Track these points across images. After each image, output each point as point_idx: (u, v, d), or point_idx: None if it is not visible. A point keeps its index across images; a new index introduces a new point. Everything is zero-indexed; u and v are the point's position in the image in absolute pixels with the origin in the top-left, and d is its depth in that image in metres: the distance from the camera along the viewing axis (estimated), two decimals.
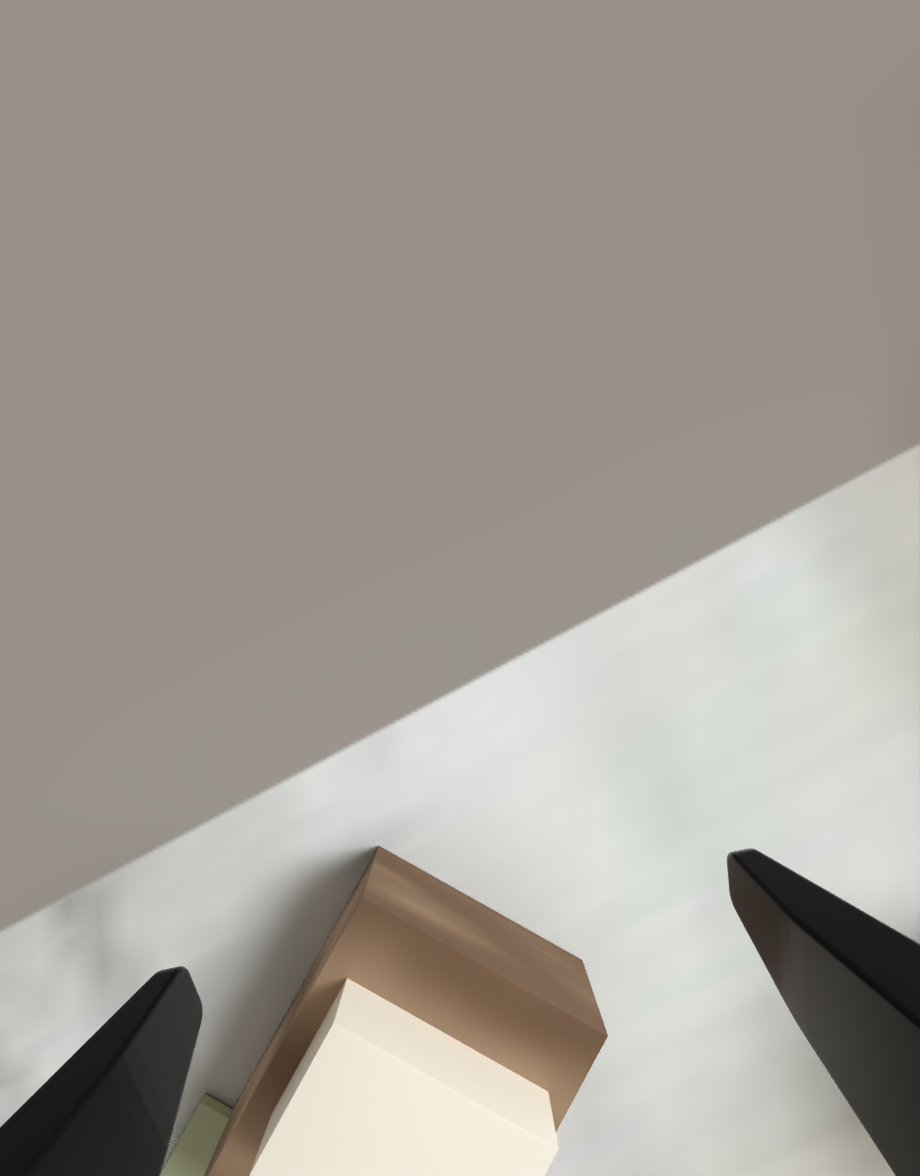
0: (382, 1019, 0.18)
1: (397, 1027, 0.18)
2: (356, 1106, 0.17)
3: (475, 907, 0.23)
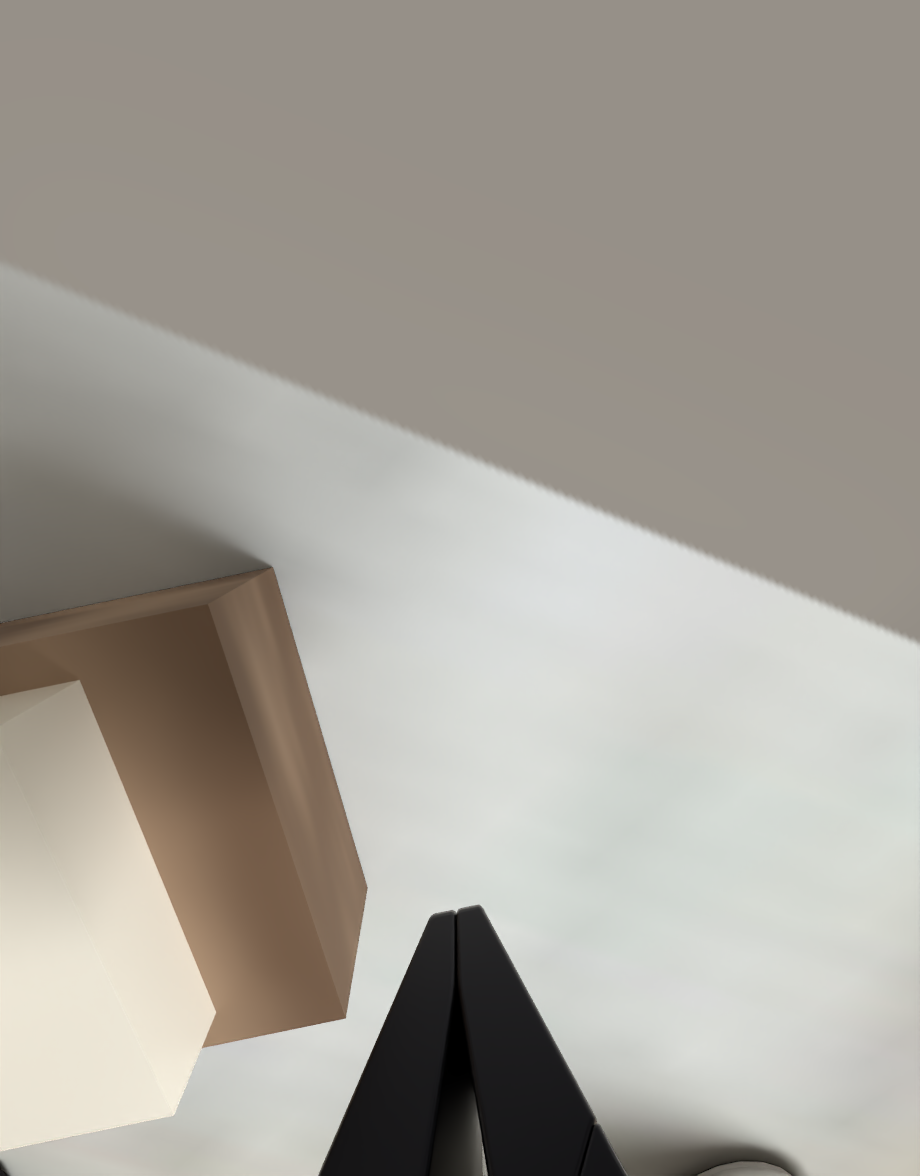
0: (80, 780, 0.10)
1: (94, 807, 0.10)
2: None
3: (317, 742, 0.14)
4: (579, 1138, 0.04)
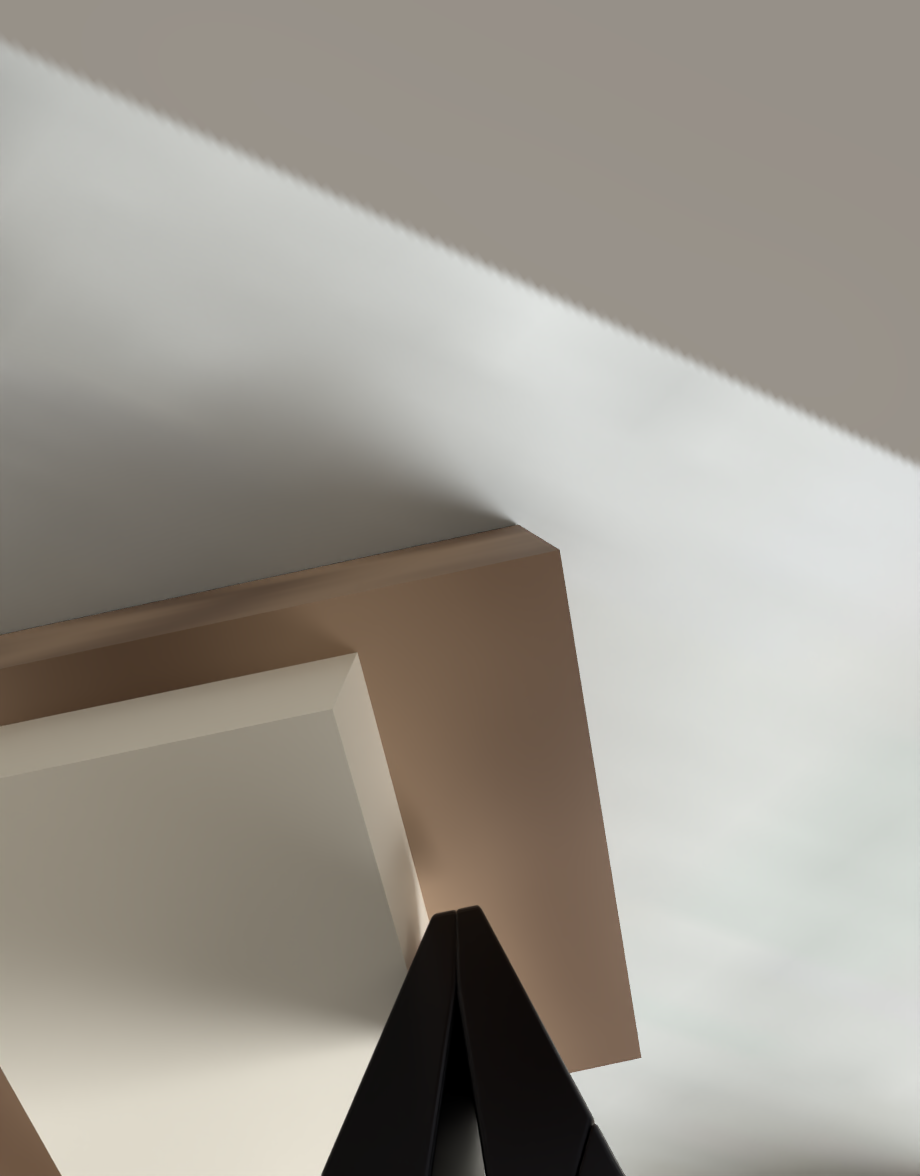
0: (377, 777, 0.08)
1: (386, 812, 0.08)
2: (217, 883, 0.07)
3: None
4: (577, 1138, 0.04)
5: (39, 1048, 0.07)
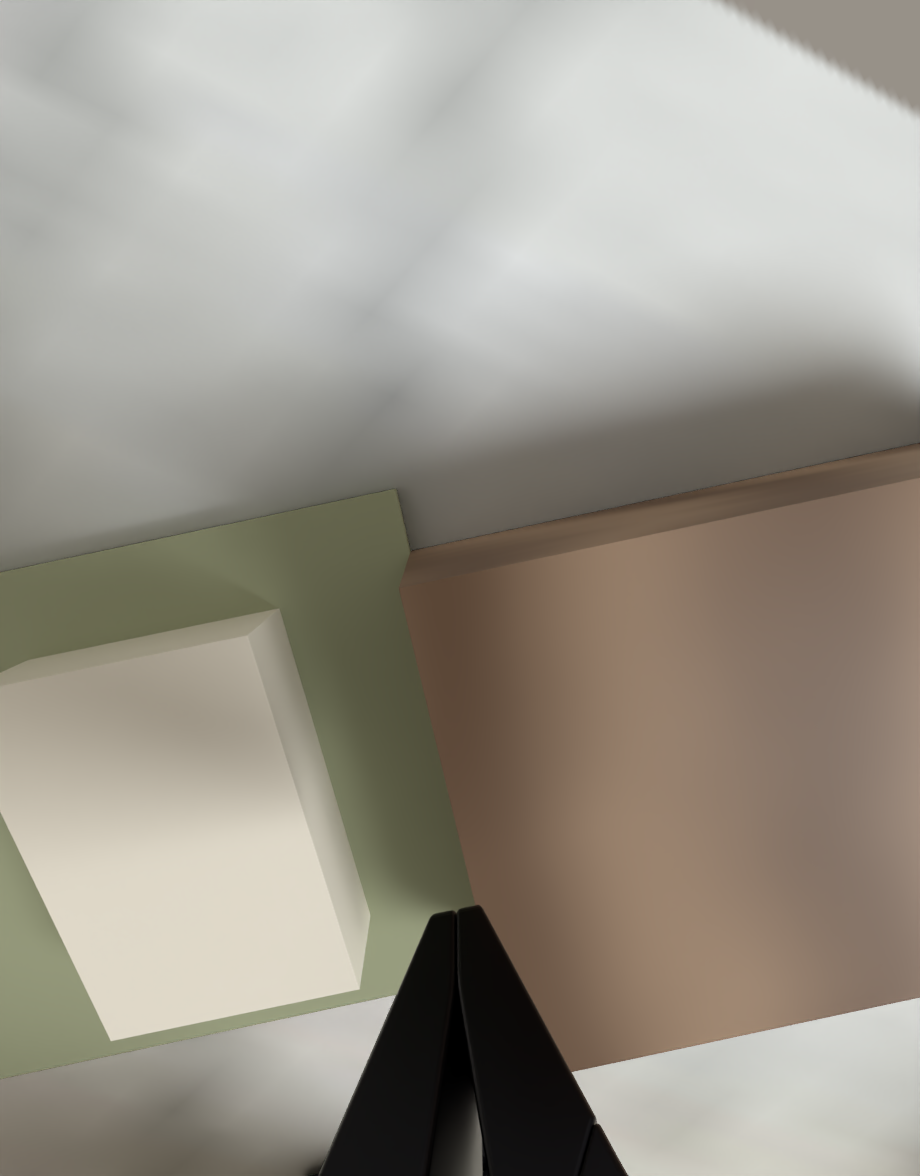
0: None
1: None
2: None
3: None
4: (579, 1138, 0.04)
5: None
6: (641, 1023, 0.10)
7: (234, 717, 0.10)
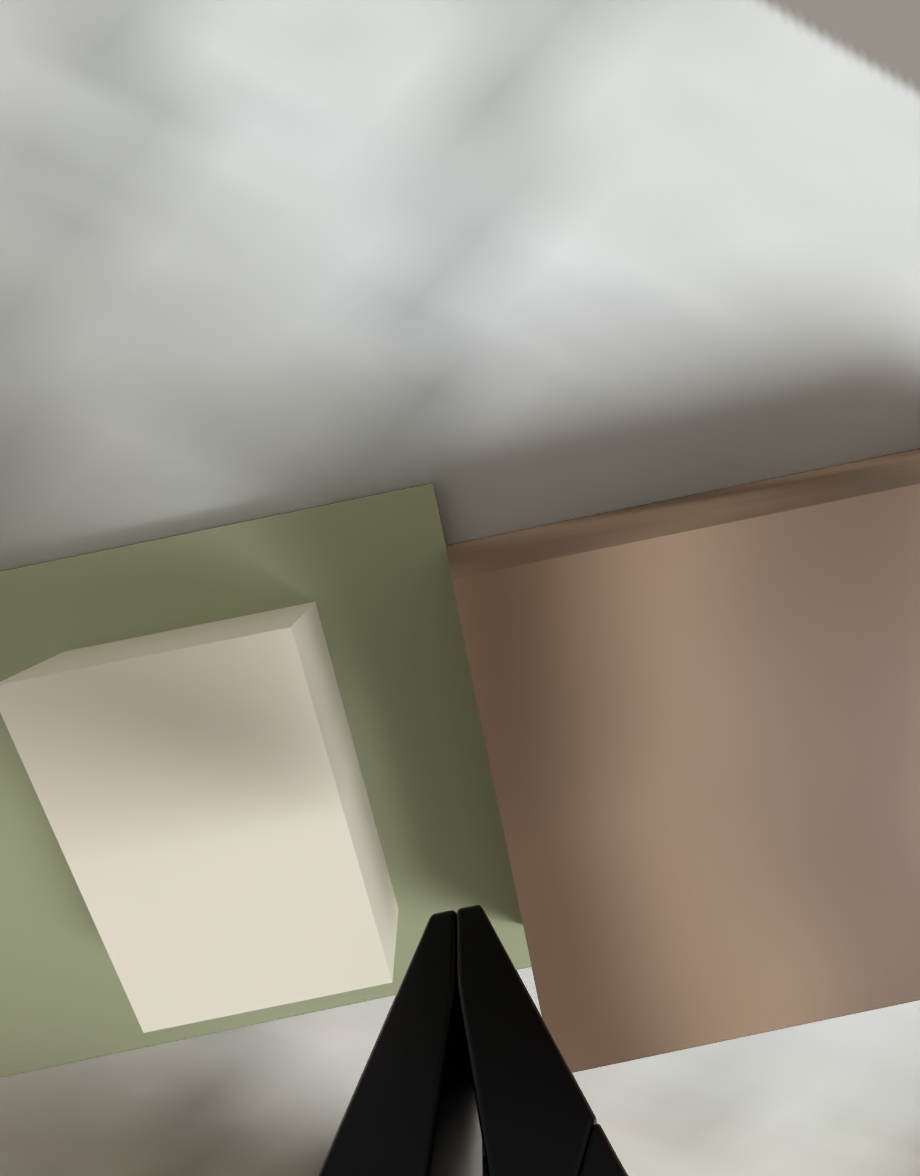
0: None
1: None
2: None
3: None
4: (579, 1138, 0.04)
5: None
6: (678, 1017, 0.10)
7: (276, 709, 0.10)
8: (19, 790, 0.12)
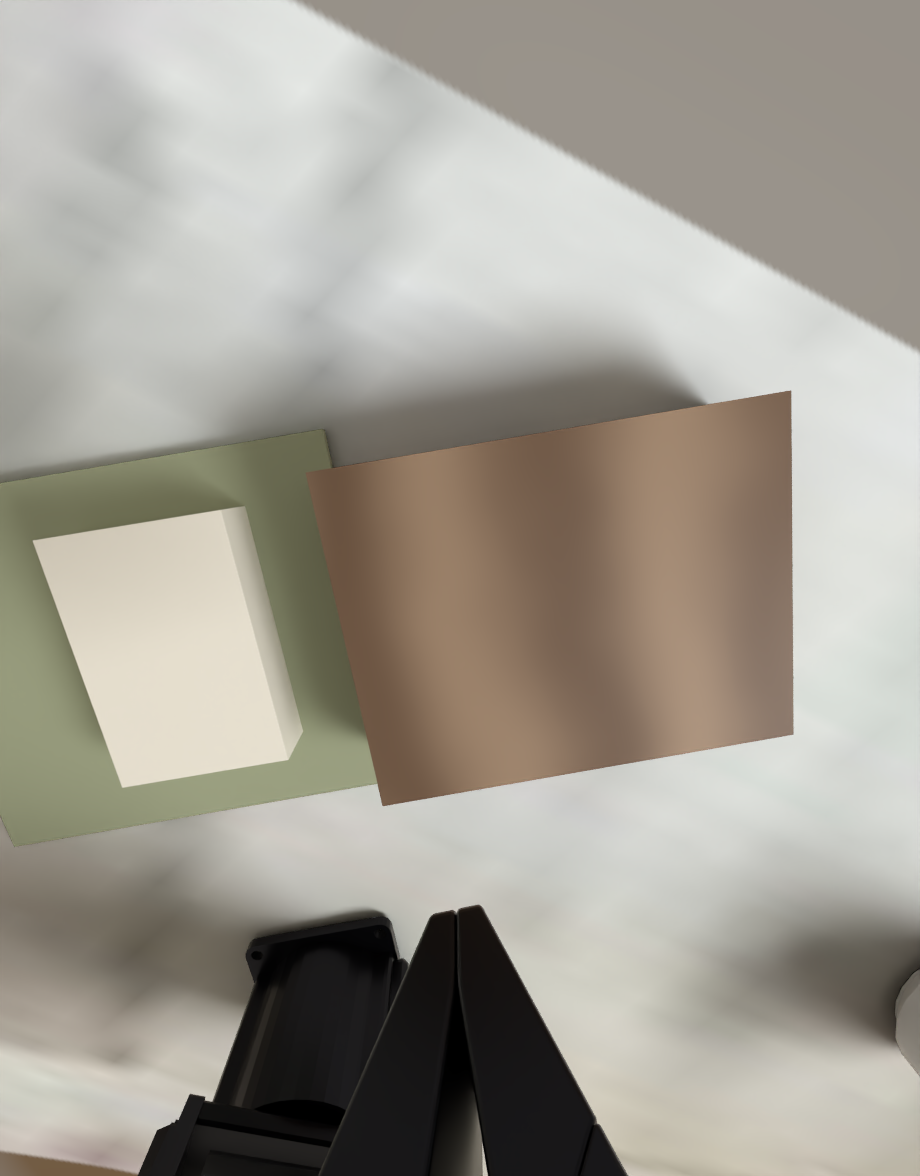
0: None
1: None
2: None
3: None
4: (579, 1138, 0.04)
5: None
6: (460, 768, 0.16)
7: (211, 563, 0.16)
8: (43, 630, 0.18)
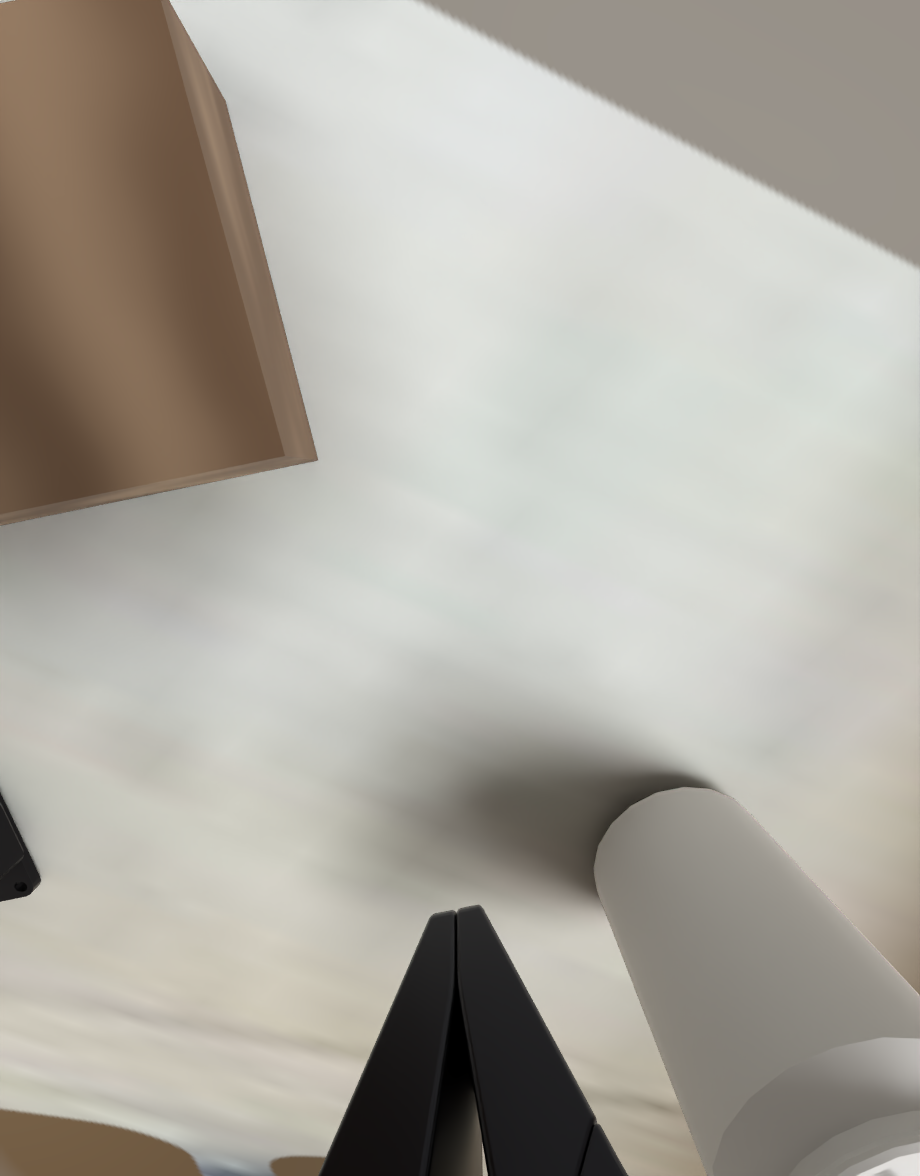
0: None
1: None
2: None
3: (267, 279, 0.16)
4: (579, 1138, 0.04)
5: None
6: None
7: None
8: None
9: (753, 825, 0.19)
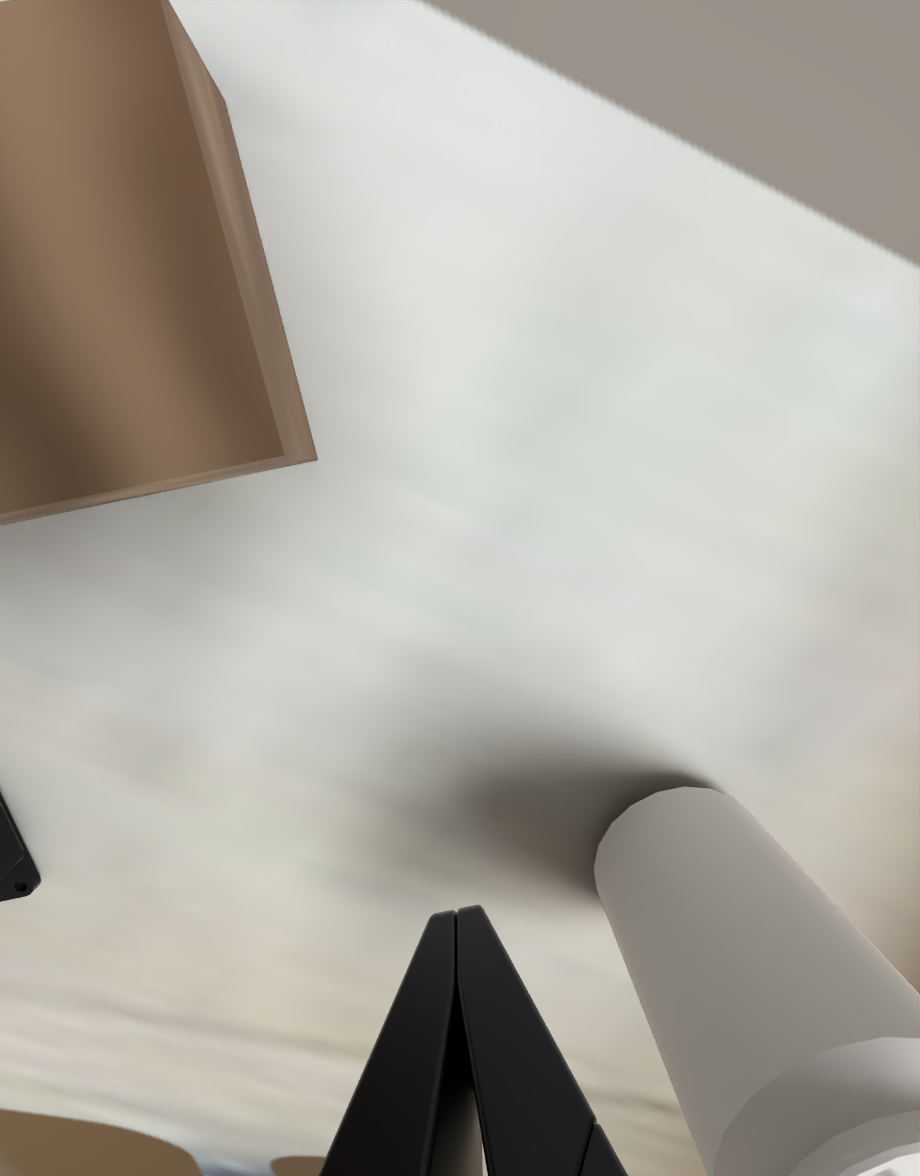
0: None
1: None
2: None
3: (267, 278, 0.16)
4: (579, 1138, 0.04)
5: None
6: None
7: None
8: None
9: (753, 825, 0.19)
